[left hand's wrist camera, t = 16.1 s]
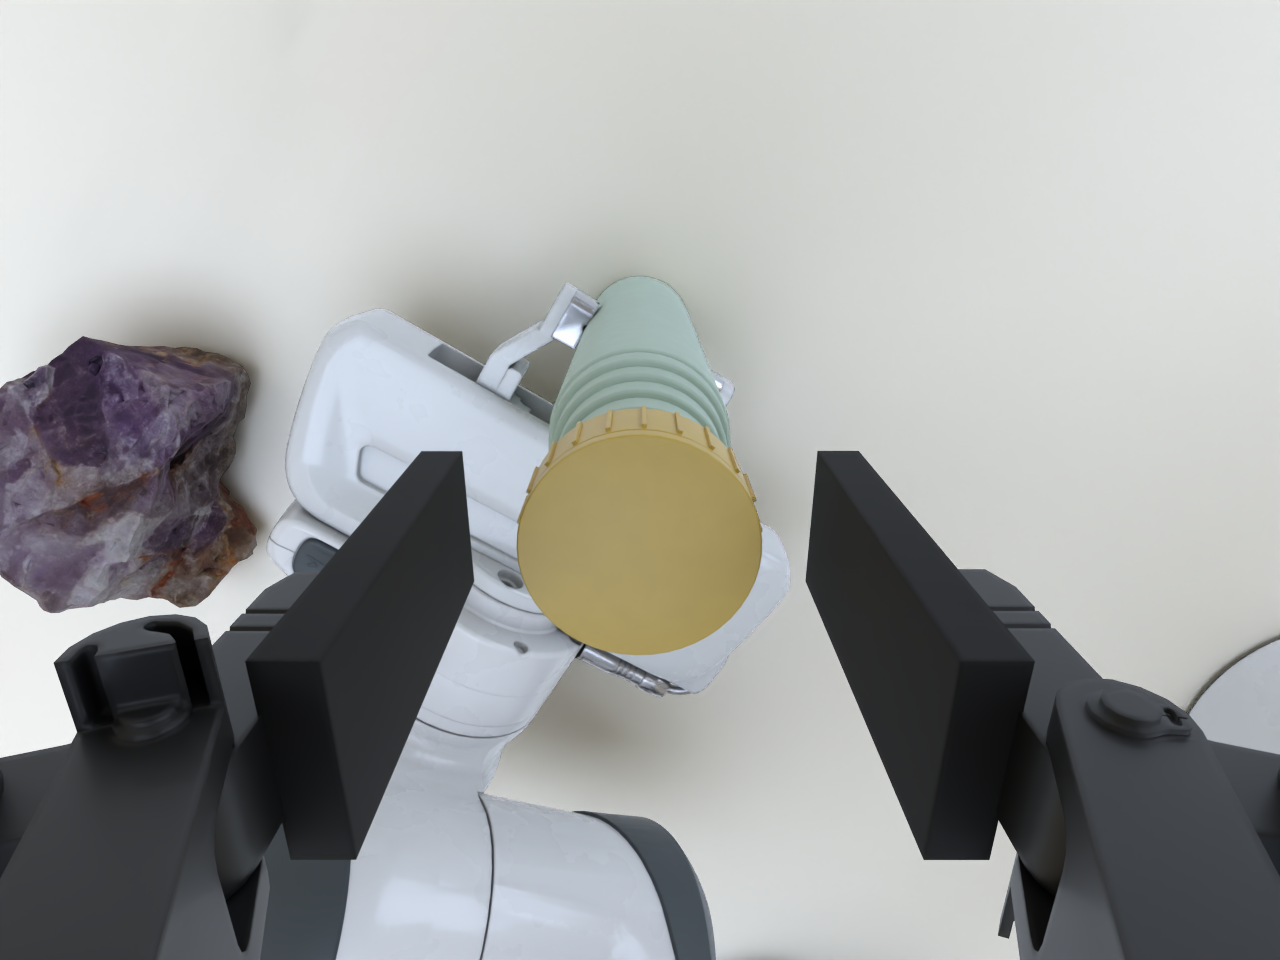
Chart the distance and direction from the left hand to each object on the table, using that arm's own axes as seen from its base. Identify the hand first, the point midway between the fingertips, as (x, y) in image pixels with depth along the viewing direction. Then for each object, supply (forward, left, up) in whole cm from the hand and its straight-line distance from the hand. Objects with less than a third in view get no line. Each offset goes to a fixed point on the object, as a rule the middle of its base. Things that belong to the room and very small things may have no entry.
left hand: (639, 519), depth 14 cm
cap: (0, 0, +1) cm, 1 cm away
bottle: (0, 0, -21) cm, 21 cm away
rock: (+6, -22, -21) cm, 31 cm away
